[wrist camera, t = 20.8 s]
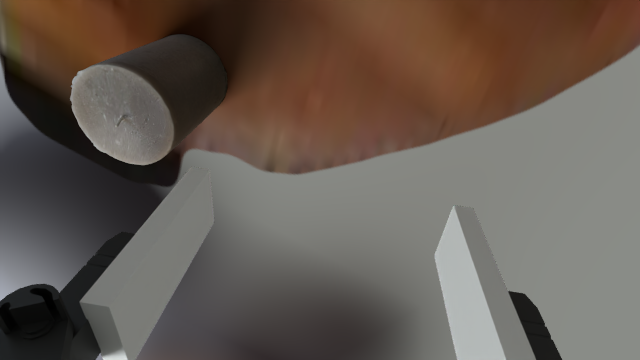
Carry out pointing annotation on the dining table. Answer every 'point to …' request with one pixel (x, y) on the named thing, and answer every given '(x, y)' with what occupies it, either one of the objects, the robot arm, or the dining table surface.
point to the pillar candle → (148, 97)
